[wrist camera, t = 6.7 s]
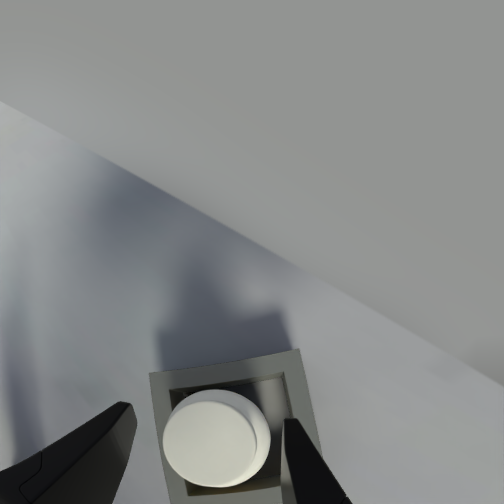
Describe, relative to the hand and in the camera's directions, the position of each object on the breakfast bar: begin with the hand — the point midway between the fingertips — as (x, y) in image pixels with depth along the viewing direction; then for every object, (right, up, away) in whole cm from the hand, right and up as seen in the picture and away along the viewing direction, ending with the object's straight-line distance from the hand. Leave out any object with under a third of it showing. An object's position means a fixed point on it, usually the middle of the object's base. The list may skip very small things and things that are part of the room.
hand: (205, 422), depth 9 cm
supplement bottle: (0, -7, +11) cm, 14 cm away
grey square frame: (+1, -7, +11) cm, 13 cm away
